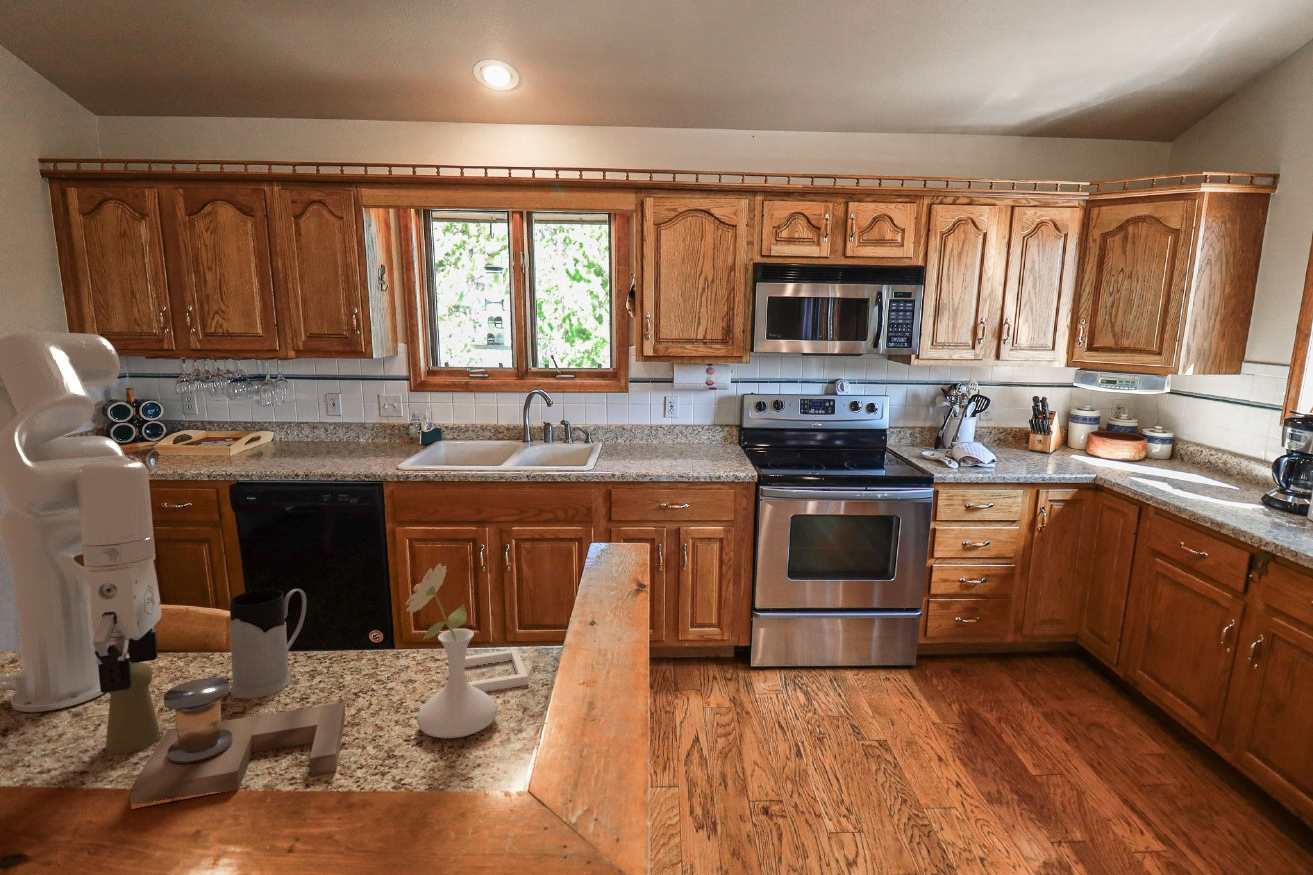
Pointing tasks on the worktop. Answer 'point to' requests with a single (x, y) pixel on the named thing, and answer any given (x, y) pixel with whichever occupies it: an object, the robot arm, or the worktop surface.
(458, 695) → the flower in vase
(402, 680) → the worktop surface
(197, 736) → the bobbin
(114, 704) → the cork
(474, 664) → the rectangular frame
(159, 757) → the notched board
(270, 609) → the glass holder
